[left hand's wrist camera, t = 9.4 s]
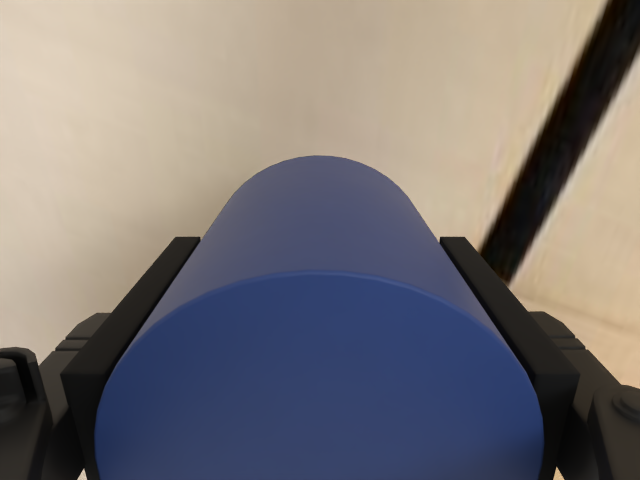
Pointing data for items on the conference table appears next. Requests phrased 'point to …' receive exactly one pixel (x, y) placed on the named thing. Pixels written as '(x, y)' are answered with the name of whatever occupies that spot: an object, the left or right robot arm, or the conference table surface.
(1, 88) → the conference table surface
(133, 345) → the can
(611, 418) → the left robot arm
